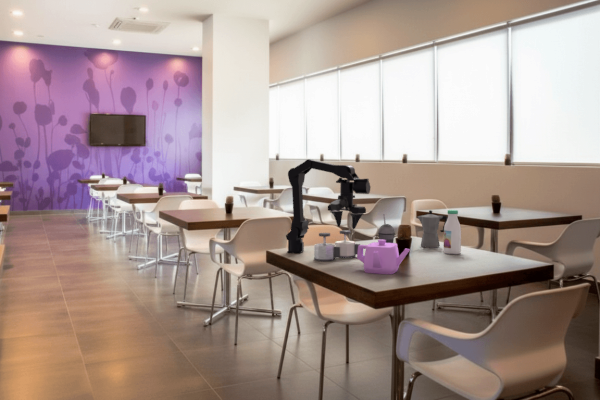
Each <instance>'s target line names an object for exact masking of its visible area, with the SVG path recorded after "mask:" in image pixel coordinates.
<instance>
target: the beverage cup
mask: <svg viewBox="0 0 600 400" xmlns="http://www.w3.org/2000/svg"><path fill="white" fill-rule="evenodd" d="M382 216H383V224H382V225H381V226H380V227H379V229H378V233H377V234H378V238H379V239H378V240H380V239H383V240H386V242H385V243H394V239H395V235H396V233H395V229H394V227H393V226H392V225H391V224H389V223H386V217H385V213H383V215H382Z"/></svg>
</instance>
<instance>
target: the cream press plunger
mask: <svg viewBox="0 0 600 400" xmlns="http://www.w3.org/2000/svg"><path fill="white" fill-rule="evenodd" d="M351 233H352V232H351V230H347V229H346V230H345V229H344V230H339V234H340V235H343V241H344V242H345V243H346V241H347V235H350V234H351Z"/></svg>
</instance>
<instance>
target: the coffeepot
mask: <svg viewBox="0 0 600 400" xmlns="http://www.w3.org/2000/svg"><path fill="white" fill-rule="evenodd" d="M428 212H429V213H427V214H424V215H423V214H422V215H418V216H416V218H418V221H419V222H420V223H421V226H422V227H421V228H422V230H423V231H422V232H423V233H422V236H421V237H422V238H421V242H420V247H422V248H427V249H428V248H429V249H431V248H432V249H433V248H435V249H436V248H440V247H441V246H440V239H439V234H438V230H439V226H440V221H441V220H442V221H443V220H444V223H443V226H442V229H441V230H439V232H441V233H444V226H445V223H446V221H447V219H448V216H447V215H436V214H433V210H428Z"/></svg>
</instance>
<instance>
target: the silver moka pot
mask: <svg viewBox="0 0 600 400" xmlns="http://www.w3.org/2000/svg"><path fill="white" fill-rule="evenodd" d="M313 246H314V248H313V249H314V253H313V256H314V257H313V260H314V261H316V262H334V261H335V260H336V259H341V258H340V247H335V244H334V243H327V242H326V245H323V242H322V243H321V242H320V243H316V244H314V245H313Z"/></svg>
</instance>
